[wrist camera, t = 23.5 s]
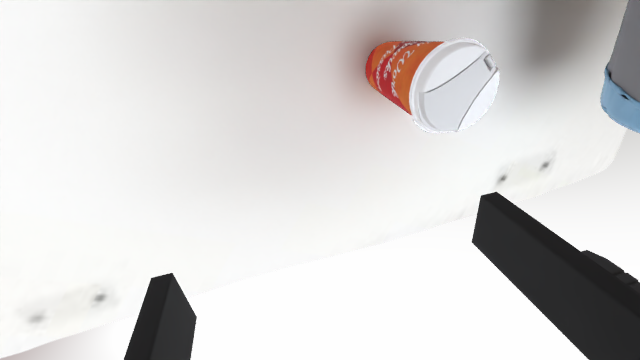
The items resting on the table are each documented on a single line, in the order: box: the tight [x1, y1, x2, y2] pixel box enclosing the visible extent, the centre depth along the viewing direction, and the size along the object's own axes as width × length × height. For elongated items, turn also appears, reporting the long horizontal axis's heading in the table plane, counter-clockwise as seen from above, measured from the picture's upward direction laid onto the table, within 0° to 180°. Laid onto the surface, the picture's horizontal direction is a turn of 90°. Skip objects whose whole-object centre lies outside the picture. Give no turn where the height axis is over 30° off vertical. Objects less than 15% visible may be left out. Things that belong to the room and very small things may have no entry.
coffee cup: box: [366, 38, 500, 133], centre depth 32 cm, size 8×8×15 cm
